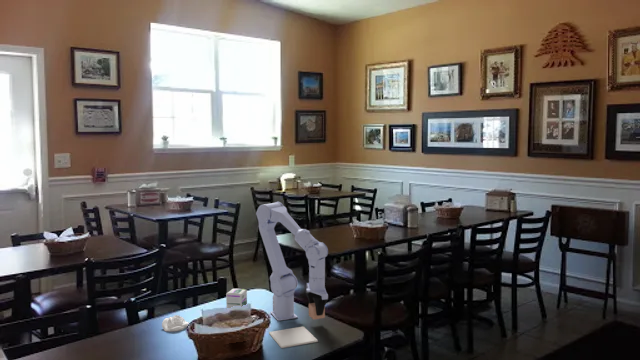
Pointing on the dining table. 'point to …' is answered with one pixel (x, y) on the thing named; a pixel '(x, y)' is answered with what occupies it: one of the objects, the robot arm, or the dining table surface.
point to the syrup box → (236, 297)
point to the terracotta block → (313, 312)
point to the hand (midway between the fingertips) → (316, 312)
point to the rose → (174, 324)
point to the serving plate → (293, 337)
